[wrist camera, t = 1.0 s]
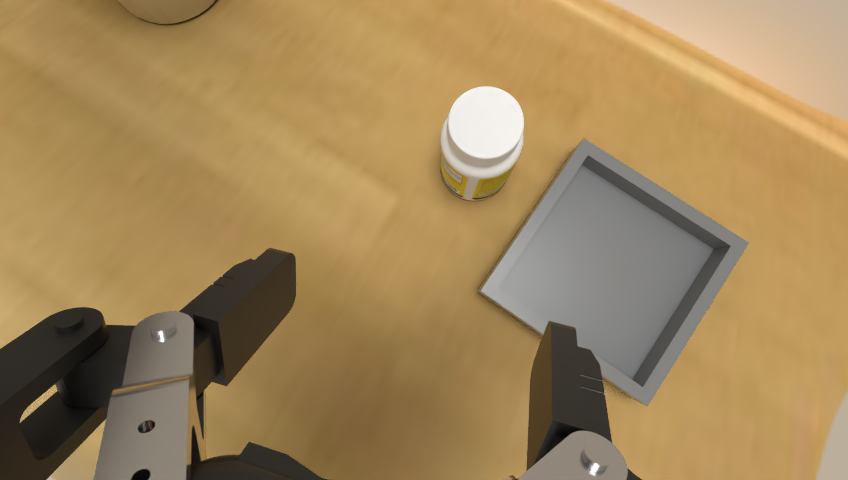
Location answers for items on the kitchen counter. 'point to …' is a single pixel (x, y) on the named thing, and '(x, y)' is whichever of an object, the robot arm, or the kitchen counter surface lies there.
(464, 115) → the supplement bottle
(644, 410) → the kitchen counter surface
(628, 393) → the tray
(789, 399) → the kitchen counter surface
